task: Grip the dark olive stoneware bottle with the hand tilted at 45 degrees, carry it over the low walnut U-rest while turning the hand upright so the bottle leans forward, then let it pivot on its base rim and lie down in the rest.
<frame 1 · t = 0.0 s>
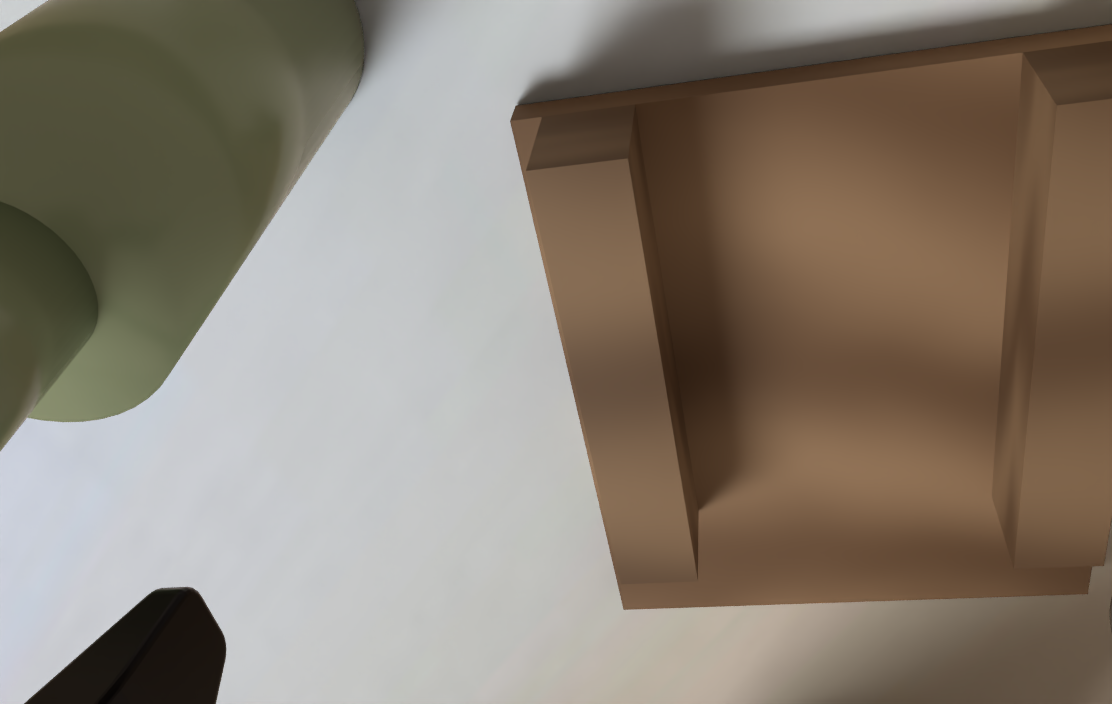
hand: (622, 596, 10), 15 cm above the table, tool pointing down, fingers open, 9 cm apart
olive bottle: (247, 31, 23), on the table
walnut U-rest: (834, 398, 27), on the table
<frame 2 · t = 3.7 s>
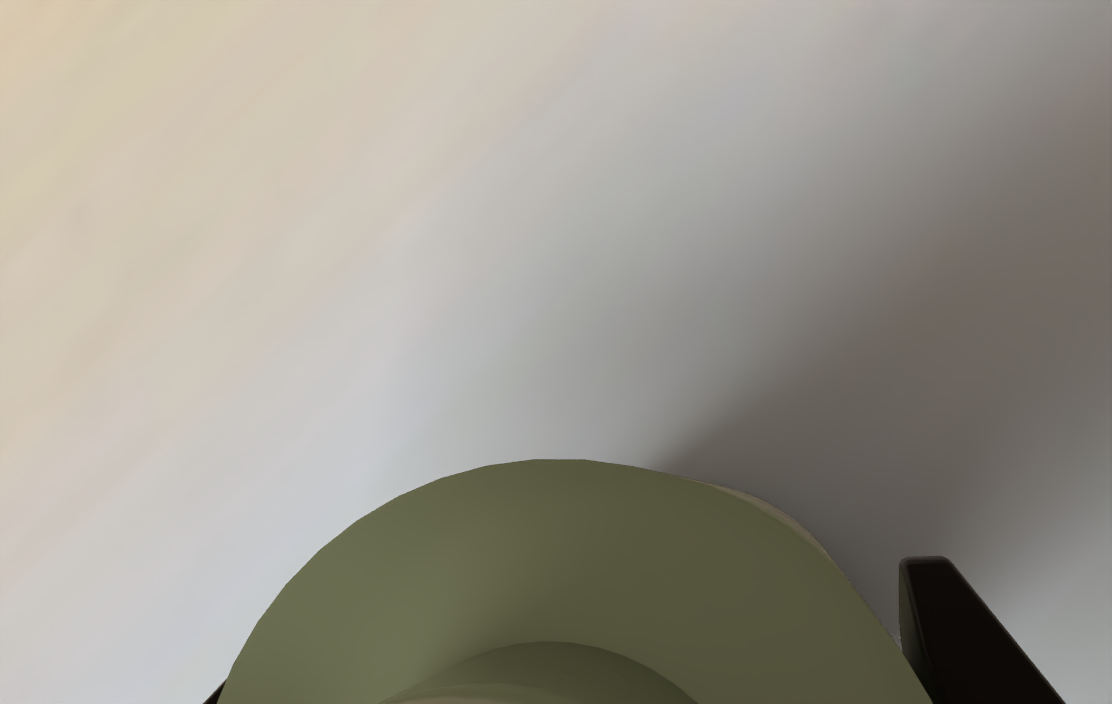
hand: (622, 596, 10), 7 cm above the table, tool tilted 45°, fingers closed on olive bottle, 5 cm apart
olive bottle: (692, 650, 16), on the table, touching gripper
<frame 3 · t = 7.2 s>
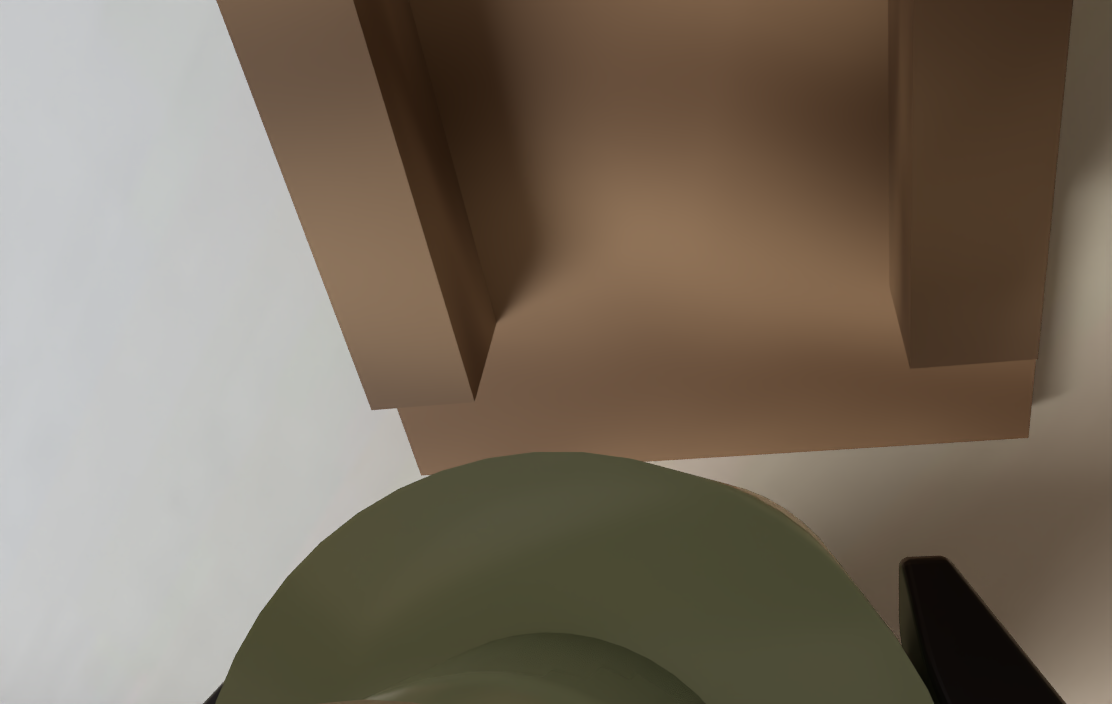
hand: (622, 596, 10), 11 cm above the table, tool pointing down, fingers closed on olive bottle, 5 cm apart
olive bottle: (693, 646, 16), point 7 cm above the table, tilted 45°, touching gripper
walnut U-rest: (667, 146, 19), on the table
when the fingers open (7 cm above the table, at t = 8.9 s): olive bottle moves 2 cm and tips over, resting on walnut U-rest.
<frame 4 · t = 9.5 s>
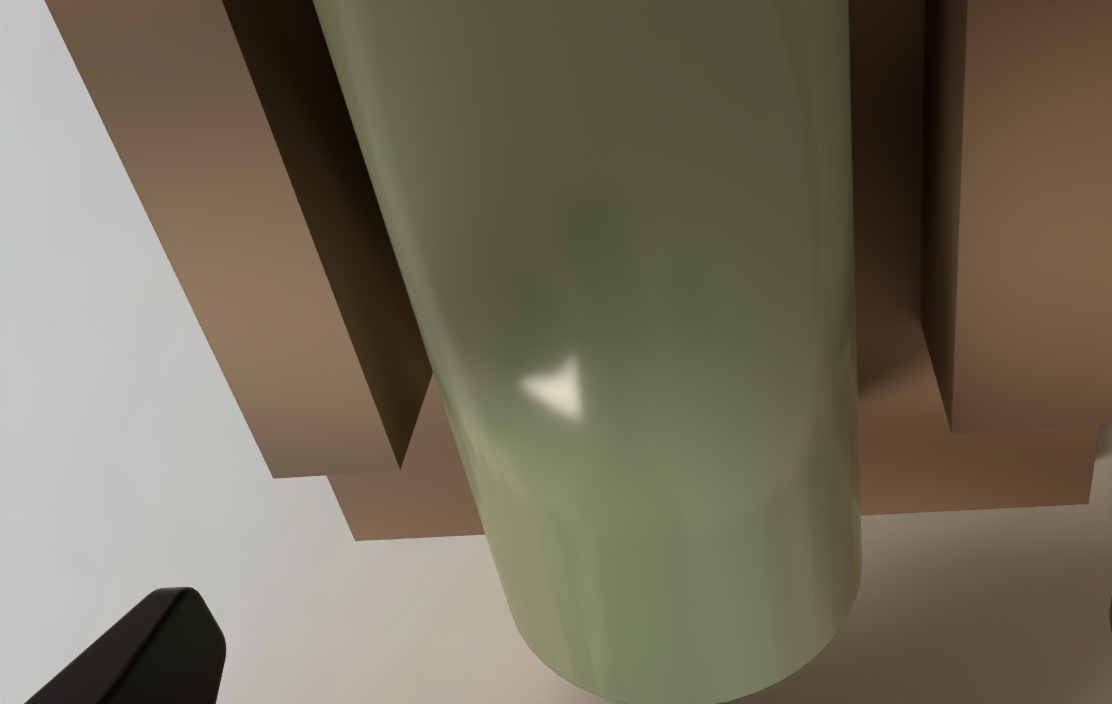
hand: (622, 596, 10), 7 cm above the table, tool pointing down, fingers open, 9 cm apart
olive bottle: (678, 554, 15), point 3 cm above the table, tilted 90°, touching walnut U-rest
walnut U-rest: (641, 148, 15), on the table
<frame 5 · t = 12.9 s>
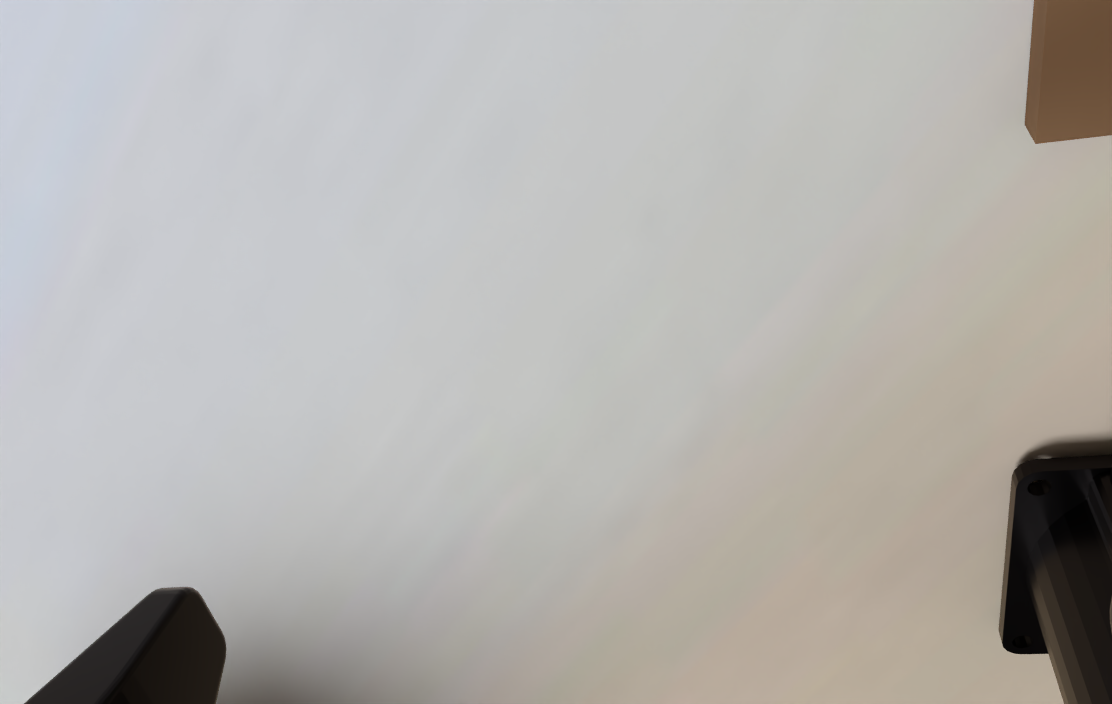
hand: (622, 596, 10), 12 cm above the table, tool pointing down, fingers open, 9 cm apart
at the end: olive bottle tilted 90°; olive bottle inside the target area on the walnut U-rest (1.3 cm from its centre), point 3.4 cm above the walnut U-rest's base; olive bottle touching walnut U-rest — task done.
